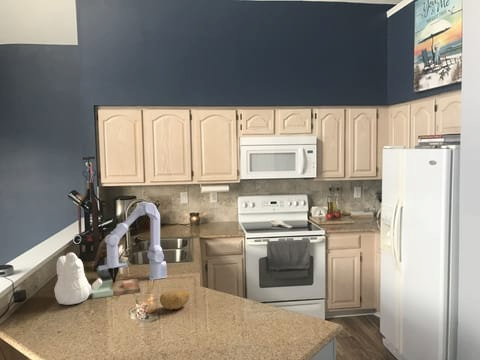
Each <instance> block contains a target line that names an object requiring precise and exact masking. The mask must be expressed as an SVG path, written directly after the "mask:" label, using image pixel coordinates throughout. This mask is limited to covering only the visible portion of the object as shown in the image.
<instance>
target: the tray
mask: <svg viewBox="0 0 480 360" xmlns="http://www.w3.org/2000/svg"><path fill="white" fill-rule="evenodd" d="M94 282H95V281H94ZM94 282H92V284H93V283H94ZM91 289H92V293H91V300H96V299H103V298H109V297H115V296H114V295H113V281H112V280H108V281H102V285H101V286H100V287H99V288H98V289H97V290H96V291H95V290H94V289H93V288H92V287H91Z"/></svg>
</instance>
